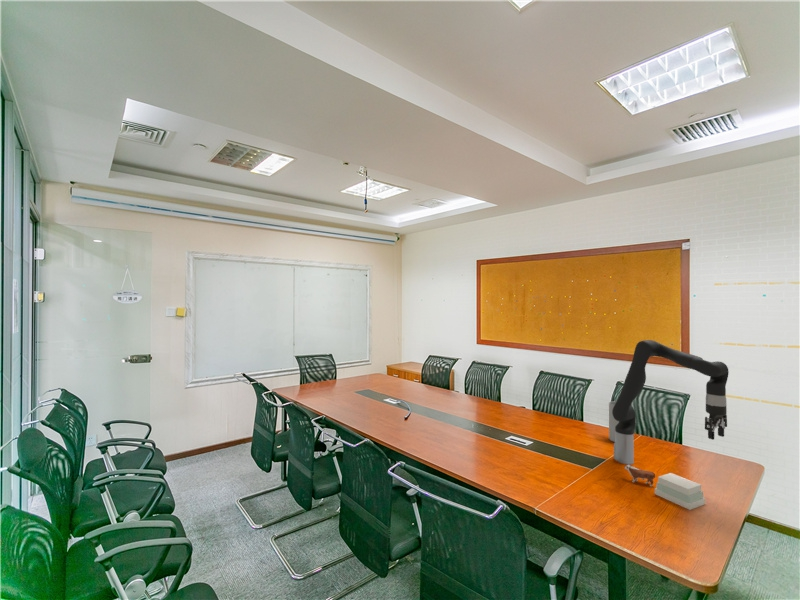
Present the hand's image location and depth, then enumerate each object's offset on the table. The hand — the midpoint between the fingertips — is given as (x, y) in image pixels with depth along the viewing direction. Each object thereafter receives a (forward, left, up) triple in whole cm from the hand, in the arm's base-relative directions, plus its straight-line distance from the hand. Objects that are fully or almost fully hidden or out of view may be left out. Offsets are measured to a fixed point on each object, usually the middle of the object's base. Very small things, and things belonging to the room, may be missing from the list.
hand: (716, 437), depth 172 cm
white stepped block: (-7, -17, -29) cm, 35 cm away
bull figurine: (-25, -18, -29) cm, 43 cm away
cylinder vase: (-67, +28, -29) cm, 78 cm away
